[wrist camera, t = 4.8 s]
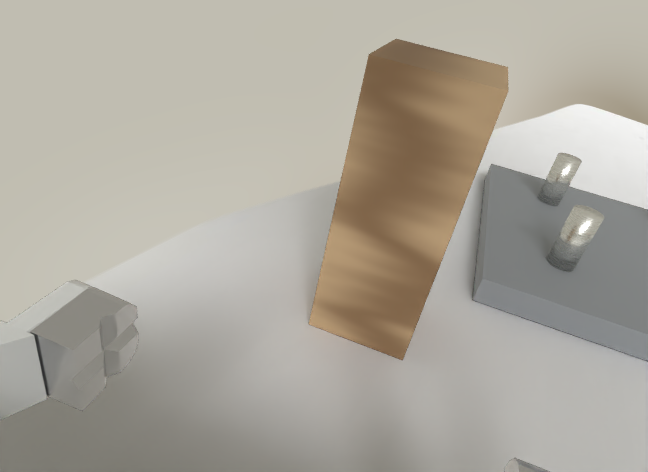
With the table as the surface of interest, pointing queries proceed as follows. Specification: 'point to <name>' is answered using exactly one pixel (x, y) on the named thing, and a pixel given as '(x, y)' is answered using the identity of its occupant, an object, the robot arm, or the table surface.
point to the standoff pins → (579, 221)
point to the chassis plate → (556, 285)
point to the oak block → (403, 189)
